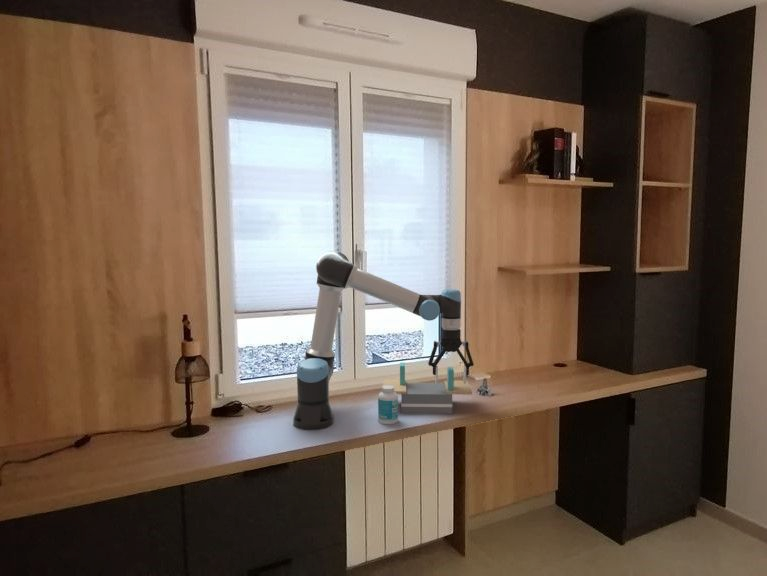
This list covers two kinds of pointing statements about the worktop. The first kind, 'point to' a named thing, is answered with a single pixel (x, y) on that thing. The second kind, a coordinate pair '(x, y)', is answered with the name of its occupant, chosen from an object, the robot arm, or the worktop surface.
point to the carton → (426, 399)
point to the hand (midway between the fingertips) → (450, 382)
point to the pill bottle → (387, 406)
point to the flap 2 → (456, 384)
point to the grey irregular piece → (485, 389)
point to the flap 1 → (398, 381)
